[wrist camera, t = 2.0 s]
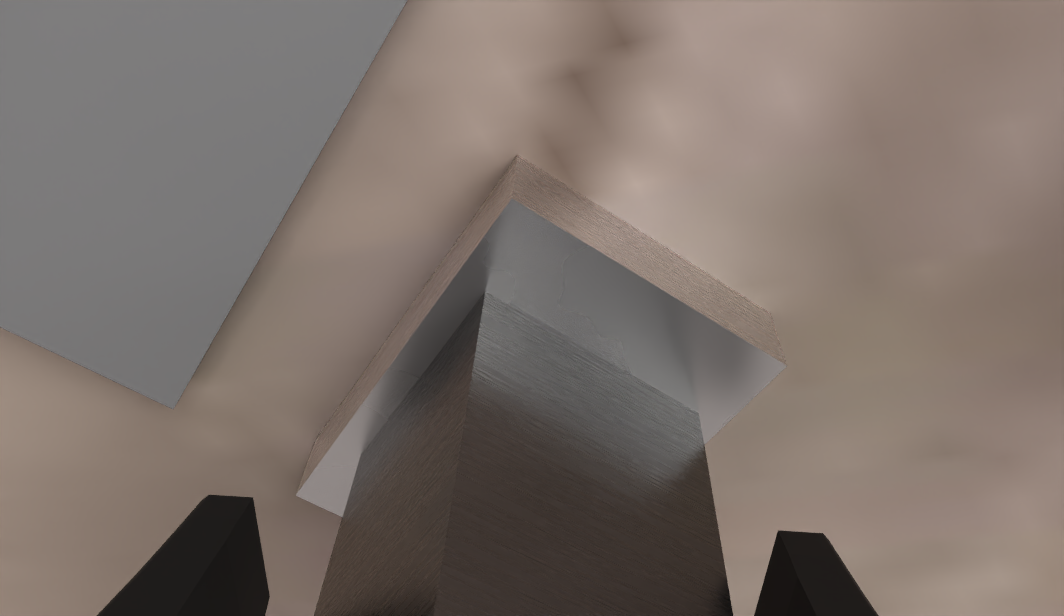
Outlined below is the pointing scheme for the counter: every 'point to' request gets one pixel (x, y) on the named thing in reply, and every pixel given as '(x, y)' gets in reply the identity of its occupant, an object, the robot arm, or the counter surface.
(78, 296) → the slate board
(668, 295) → the metal post with plate
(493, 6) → the counter surface
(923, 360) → the counter surface
